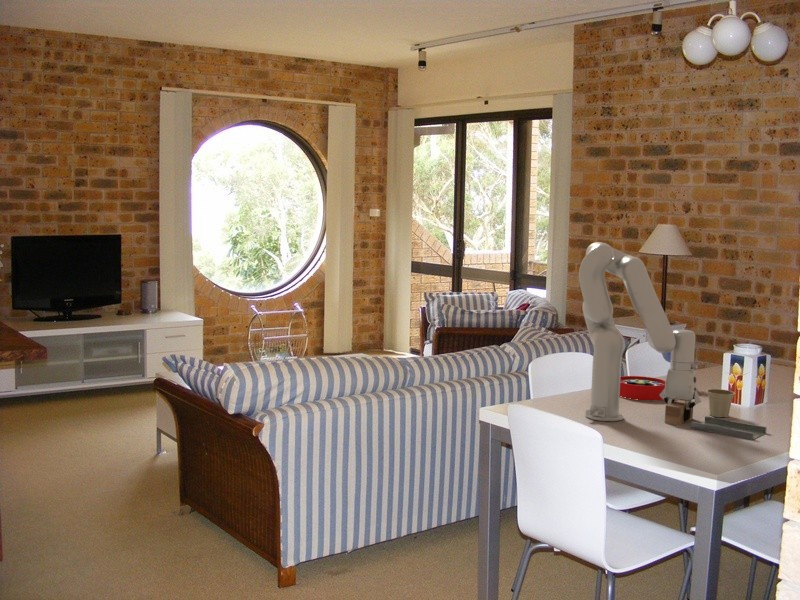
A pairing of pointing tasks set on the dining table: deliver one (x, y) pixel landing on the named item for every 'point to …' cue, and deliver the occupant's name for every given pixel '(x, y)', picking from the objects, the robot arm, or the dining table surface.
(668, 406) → the walnut block
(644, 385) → the toy clock
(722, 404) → the flower pot
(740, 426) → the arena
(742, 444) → the dining table surface
